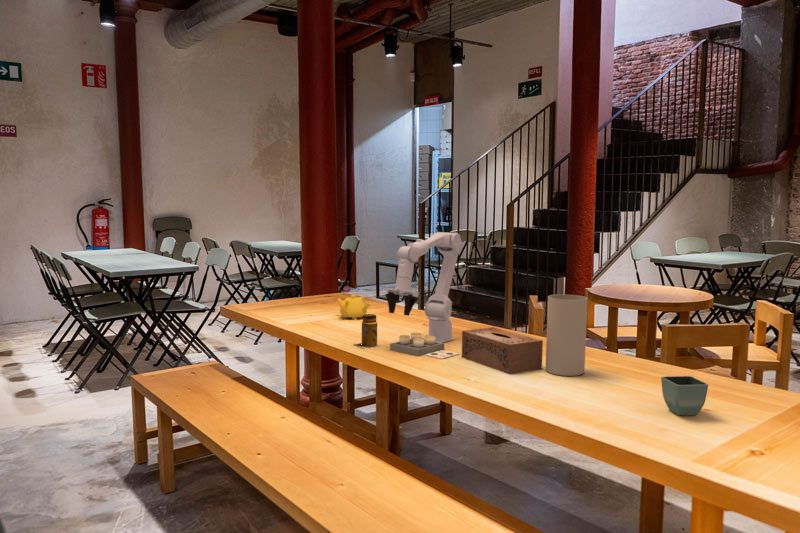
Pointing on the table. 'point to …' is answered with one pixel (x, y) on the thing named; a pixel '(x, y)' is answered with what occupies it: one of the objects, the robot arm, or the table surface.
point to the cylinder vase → (566, 335)
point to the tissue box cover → (502, 350)
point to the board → (416, 351)
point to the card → (442, 354)
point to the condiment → (369, 331)
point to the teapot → (353, 307)
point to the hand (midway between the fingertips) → (398, 314)
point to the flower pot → (684, 394)
